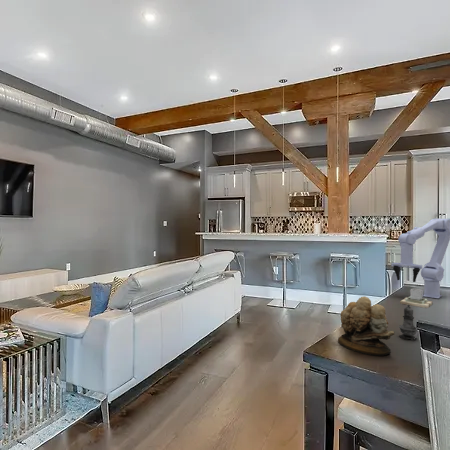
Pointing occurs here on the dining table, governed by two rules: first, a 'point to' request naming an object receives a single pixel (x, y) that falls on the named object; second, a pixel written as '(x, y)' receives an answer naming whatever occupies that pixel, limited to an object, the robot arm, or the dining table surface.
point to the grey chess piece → (408, 324)
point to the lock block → (416, 294)
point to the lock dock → (417, 302)
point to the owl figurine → (365, 328)
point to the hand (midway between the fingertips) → (406, 280)
